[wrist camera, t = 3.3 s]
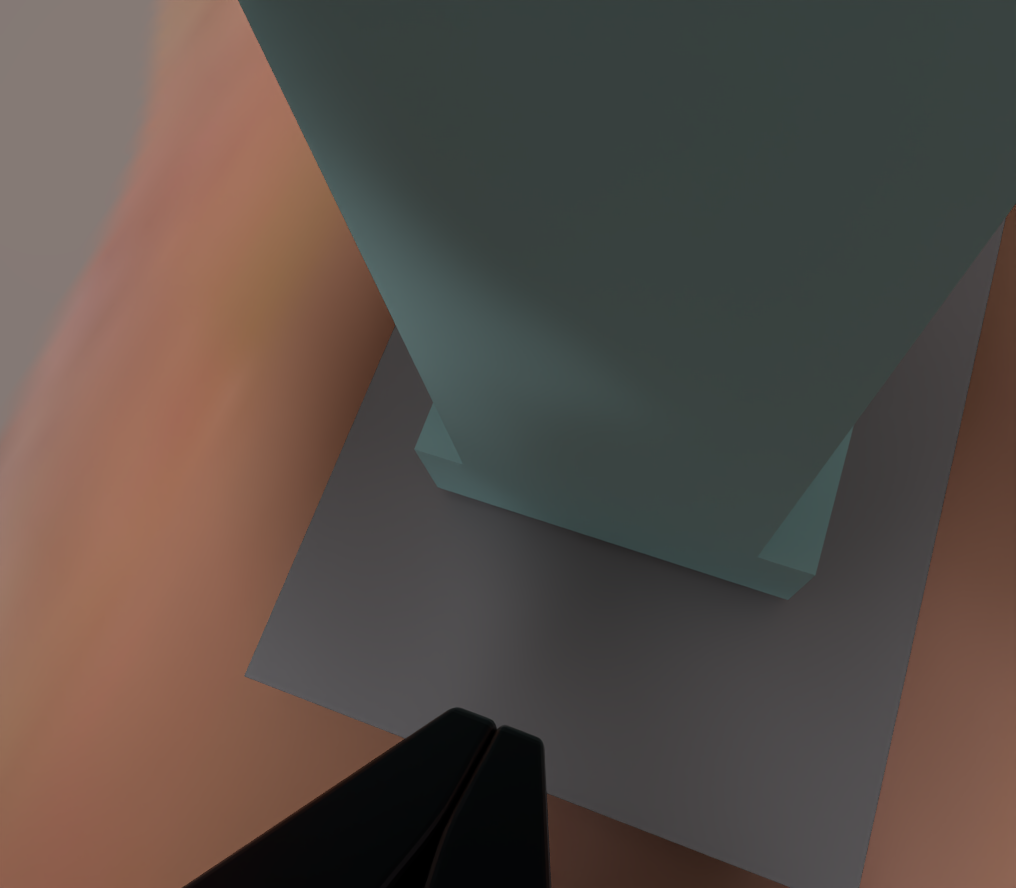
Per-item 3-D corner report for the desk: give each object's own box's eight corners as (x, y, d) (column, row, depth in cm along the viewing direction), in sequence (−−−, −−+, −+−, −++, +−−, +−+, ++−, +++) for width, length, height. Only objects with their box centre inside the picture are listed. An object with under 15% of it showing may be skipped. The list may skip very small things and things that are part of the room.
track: (829, 896, 14) (1314, 1191, 5) (275, 683, 16) (-224, 565, 7) (1064, -139, 21) (1477, -949, 11) (646, -200, 23) (674, -928, 13)
